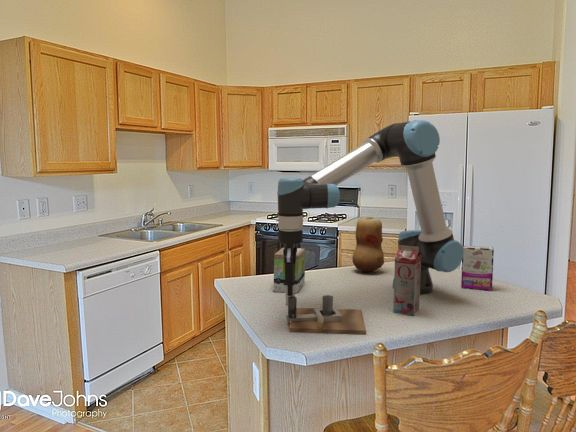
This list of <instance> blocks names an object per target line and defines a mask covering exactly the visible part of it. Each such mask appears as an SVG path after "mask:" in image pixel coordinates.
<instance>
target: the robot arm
mask: <svg viewBox="0 0 576 432" xmlns="http://www.w3.org/2000/svg"><path fill="white" fill-rule="evenodd" d="M440 141H441V139H440V134H439V131H438V128H437V127H436V126H435V125H434V124H433V123H431V122H429V121H427V120H421V119H420V120H419V119H418V120H417V119H415V120H409V121H403V122H397V123H392V124H389V125H386V126H385V127H383V128H382V129H379V130H378V131H377V132H375V133H373V134H371V136H369V137H367V138H365V139H364V141H363V143H362V144H361V145H359V146H358V147H356V148H354V149H352V150H351V151H349V152H347V153H346V154H343V156H340V157H339V158H337V159H336V160H334V161H333V162H331V163H329V164H327V165H326V166H324V167H323V168H321V169H319V170H318V171H315V172H314V173H313V174H311V175H309V176H308V177H306V178H304V179H302V178H301V177H282V178H280V179H279V180H278V181H277V183H278V184H277V193H276V194H277V218H276V219H275V222H277V229H278V231H277V242H278V243H280V244H285V247H283V248H284V249H283V254H284V263H285V283H284V284H283V285H286V292H285V306H288V297H290V296H295V297H296V293H295V284H294V283H297V281H295V278H296V277H295V262H296V254H297V248H298V247H296V245H297V244H300V243H302V242H303V239H304V235H303V234H304V232H303V228H304V210H310V209H329V208H331V209H333V208H336V207H337V206H338V205H339V202H340V199H341V197H340V196H341V194H340V189H339V186H338V185H339V184H341V183H343V182H345V181H346V180H347V179H350V178H351V177H352V176H354V175H356V174H357V173H359V172H361V171H362V170H364V169H366V168H367V167H369V166H370V165H372V164H374V163H375V164H376V163H377V164H378V163H381V162H383V161H385V160H387V159H390V158H396V157H397V158H398V159H399V163H400V166H401V167H403V168H405V169H406V172H407V177H408V180H409V185H410V188H411V193H412V198H413V201H414V202H413V203H414V206H415V209H416V215H417V218H418V222H419V227H420V229H413V230H412V229H410V230H402V231H400V232H399V234H398V240H397V243H398V244H397V245H398V246H399V245H403V246H414V247H419V253H420V254H421V277H420V295H422V294H429V293H432V292H433V290H434V283H433V280H432V276H431V273H430V270H431V269H432V270H435V271H437V272H443V273H451V272H454V271H455V270H457V269H458V267H459V266H460V265H461V264H462V259H463V255H464V249H463V246H464V245H463V244H462V243H461V242H459V241H458V240H455V238H454V237H455V236H454V234H453V230H452V229H451V228H449V227H448V226H447V223H446V220H445V219H446V218H445V214H444V210H443V205H442V201H441V195H440V191H439V186H438V183H437V179H436V173H435V169H434V164H433V162H434V161H435V160H436V158H437V155H436V152H437V151H438V149H439V145H440ZM392 289H394V279H393V280H392Z"/></svg>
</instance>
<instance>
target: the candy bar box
mask: <svg viewBox="0 0 576 432" xmlns="http://www.w3.org/2000/svg"><path fill="white" fill-rule="evenodd" d="M462 246H463V249H464V255H463V259H462V261H461V285H460V287H461V289H466V288H469V289H468V290H477V289H478V290H479V291H490V292H491V291H493V281H494V279H493V276H494V272H493V271H494V252H495V251H494V247H492V246H479V245H475V246H474V245H462Z"/></svg>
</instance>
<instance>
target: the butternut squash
mask: <svg viewBox="0 0 576 432" xmlns="http://www.w3.org/2000/svg"><path fill="white" fill-rule="evenodd" d="M383 240H384V238H383V223H382V221H381V220H380V219H379V217H376V216H363V217H360V218H359V219H358V220H357V222H356V226H355V241H356V243H355V244H356V245H355V249H354V251H353V253H352V263H353V265H354V267H355V268H356V269H357V270H359V271H361V272H364V273H373V272H375V271H377V270H379V269H382V266H383V265H384V264H385V256H384V250H383V248H382V244H383Z"/></svg>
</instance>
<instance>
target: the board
mask: <svg viewBox="0 0 576 432" xmlns="http://www.w3.org/2000/svg"><path fill="white" fill-rule="evenodd" d="M321 299H322V300H321V301H322V306H321V307H319V308H317V307H316V308H315V307H297V315H301V314H314V309H322V315H333V308H334V296H333V295H330V294H328V295H327V294H326V295H322V298H321ZM336 309H337V310H338V311H339V312H340V314H341V315H342V322H324V317H322V316H319V317H317V320H313V321H295V322H290V323H289V331H288V332H289V333H306V334H307V333H309V334H339V335H340V334H341V335H367V329H366V325H365V323H366V322H365V320H364V316H363V311H362V309H360V308H359V309H358V308H357V309H356V308H355V309H354V308H353V309H352V308H350V309H349V308H336ZM323 322H324V323H323Z"/></svg>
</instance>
